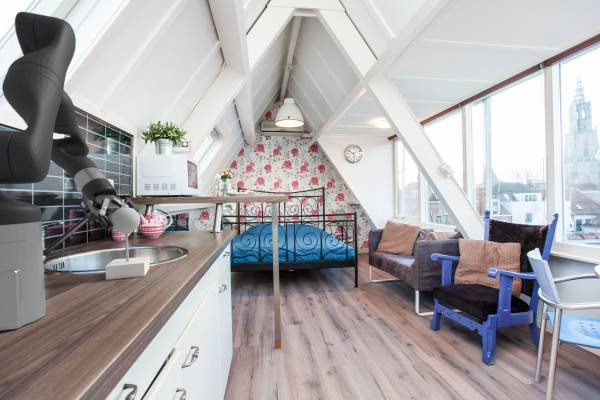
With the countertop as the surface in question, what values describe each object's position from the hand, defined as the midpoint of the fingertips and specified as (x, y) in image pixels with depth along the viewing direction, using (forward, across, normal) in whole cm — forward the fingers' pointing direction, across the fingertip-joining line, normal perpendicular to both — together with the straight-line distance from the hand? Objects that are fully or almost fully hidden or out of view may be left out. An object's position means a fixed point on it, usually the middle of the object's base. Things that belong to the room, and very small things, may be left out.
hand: (125, 226), depth 84 cm
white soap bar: (+10, 0, +8) cm, 13 cm away
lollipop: (+8, 0, +6) cm, 10 cm away
